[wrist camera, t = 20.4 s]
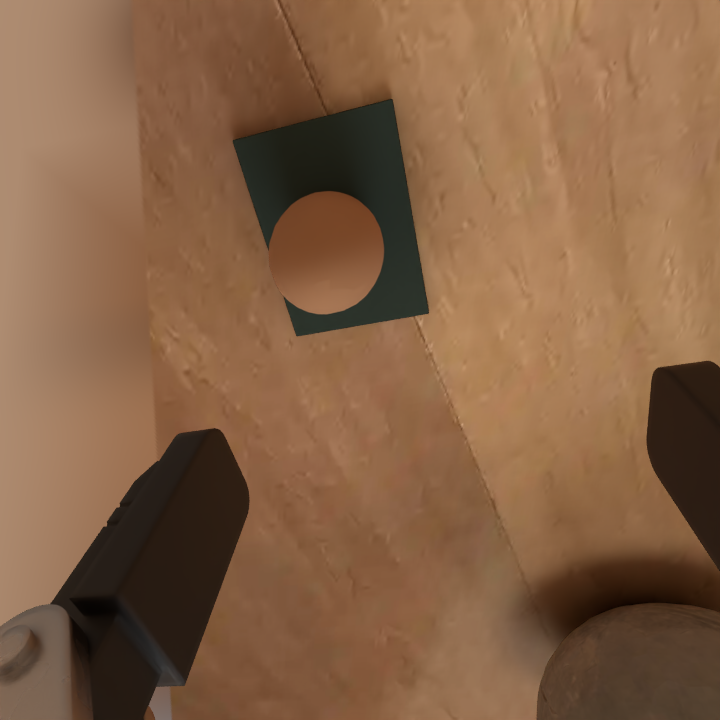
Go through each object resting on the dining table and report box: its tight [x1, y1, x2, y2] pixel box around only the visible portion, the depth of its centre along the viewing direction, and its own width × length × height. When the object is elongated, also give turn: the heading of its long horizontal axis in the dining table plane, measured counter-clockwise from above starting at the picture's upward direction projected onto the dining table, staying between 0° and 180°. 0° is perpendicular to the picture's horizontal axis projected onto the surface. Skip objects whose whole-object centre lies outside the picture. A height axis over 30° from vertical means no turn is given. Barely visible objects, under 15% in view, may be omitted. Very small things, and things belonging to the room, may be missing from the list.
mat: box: [233, 99, 429, 336], centre depth 25 cm, size 11×8×1 cm
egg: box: [269, 191, 384, 314], centre depth 21 cm, size 5×5×8 cm
